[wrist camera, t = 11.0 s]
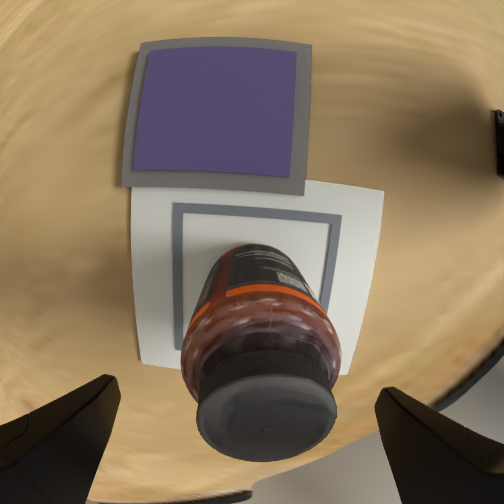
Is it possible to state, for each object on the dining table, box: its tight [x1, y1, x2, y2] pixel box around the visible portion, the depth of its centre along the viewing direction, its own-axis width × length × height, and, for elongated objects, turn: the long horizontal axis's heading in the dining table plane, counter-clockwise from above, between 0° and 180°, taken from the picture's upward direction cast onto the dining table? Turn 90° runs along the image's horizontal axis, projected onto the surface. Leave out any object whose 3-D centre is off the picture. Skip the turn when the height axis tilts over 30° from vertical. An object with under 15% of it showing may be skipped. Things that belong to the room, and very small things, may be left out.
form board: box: [131, 180, 384, 375], centre depth 17 cm, size 16×14×1 cm
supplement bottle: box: [180, 244, 342, 462], centre depth 12 cm, size 6×6×11 cm
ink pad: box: [121, 37, 312, 196], centre depth 14 cm, size 11×10×1 cm
